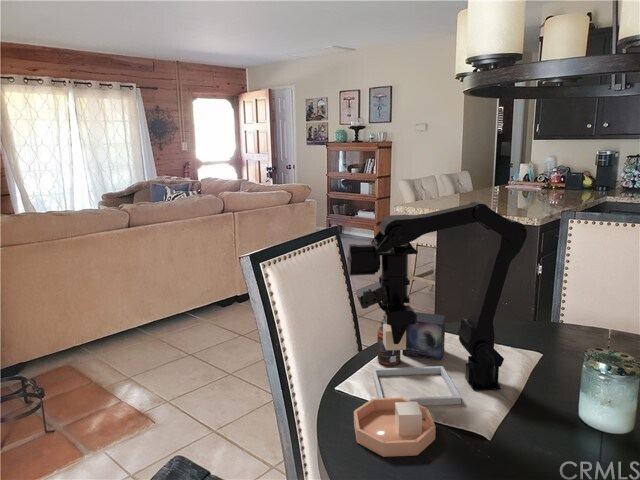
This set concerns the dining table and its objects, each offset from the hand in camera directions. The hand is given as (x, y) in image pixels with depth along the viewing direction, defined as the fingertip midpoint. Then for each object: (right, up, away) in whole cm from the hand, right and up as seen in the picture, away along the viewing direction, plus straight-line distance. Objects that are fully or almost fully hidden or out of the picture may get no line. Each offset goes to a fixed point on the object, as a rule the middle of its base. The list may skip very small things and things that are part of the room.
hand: (394, 339), depth 108 cm
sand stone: (0, -2, 0) cm, 2 cm away
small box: (+11, -8, +20) cm, 25 cm away
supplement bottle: (+1, -9, +16) cm, 19 cm away
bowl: (-2, -16, -13) cm, 20 cm away
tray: (+5, -12, +3) cm, 13 cm away
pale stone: (+1, -15, -13) cm, 20 cm away
